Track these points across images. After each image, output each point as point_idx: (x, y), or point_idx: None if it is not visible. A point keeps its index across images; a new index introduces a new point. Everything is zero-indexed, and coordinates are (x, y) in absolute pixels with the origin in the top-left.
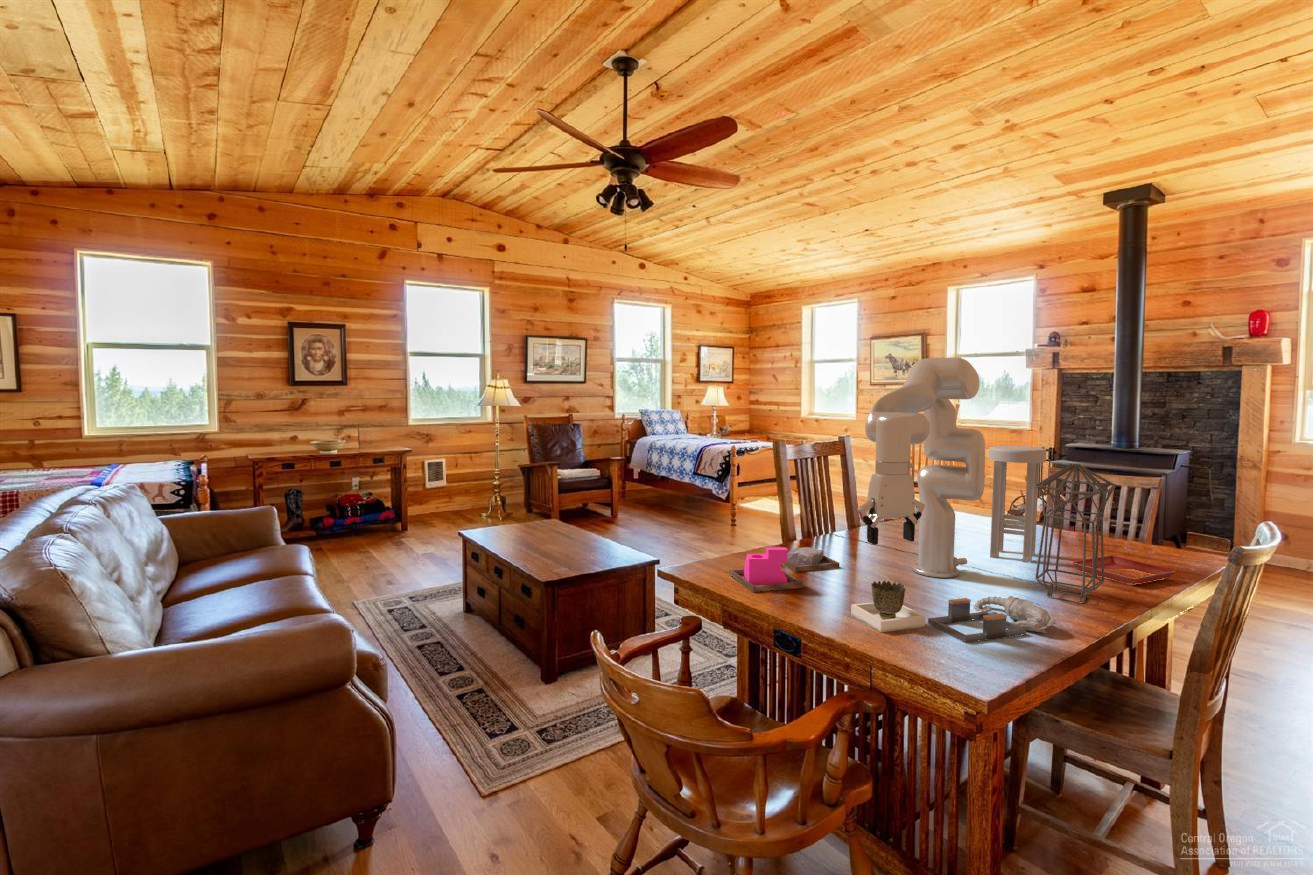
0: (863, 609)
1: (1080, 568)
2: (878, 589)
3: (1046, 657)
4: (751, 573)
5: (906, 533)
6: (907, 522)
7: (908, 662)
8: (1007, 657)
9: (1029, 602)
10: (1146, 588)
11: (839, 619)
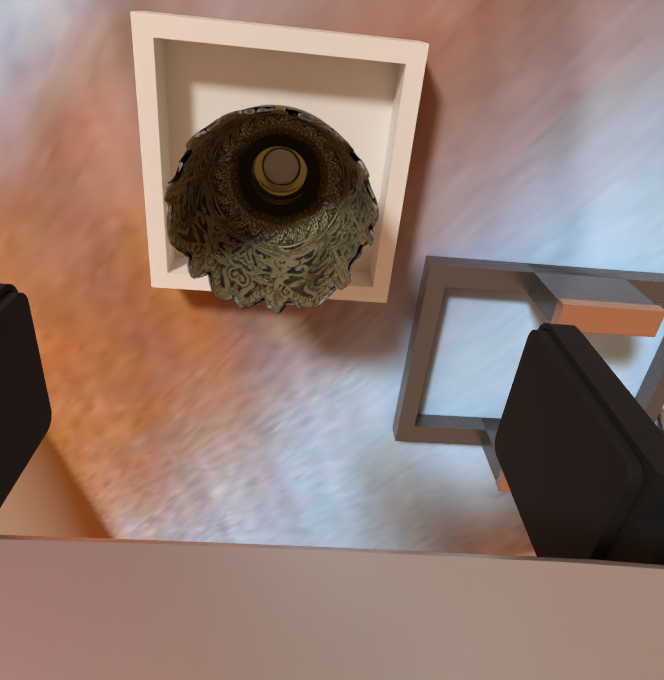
0: (157, 119)
1: None
2: (174, 242)
3: (506, 543)
4: None
5: (542, 423)
6: (626, 554)
7: (112, 471)
8: (412, 519)
9: None
10: None
11: (47, 51)
